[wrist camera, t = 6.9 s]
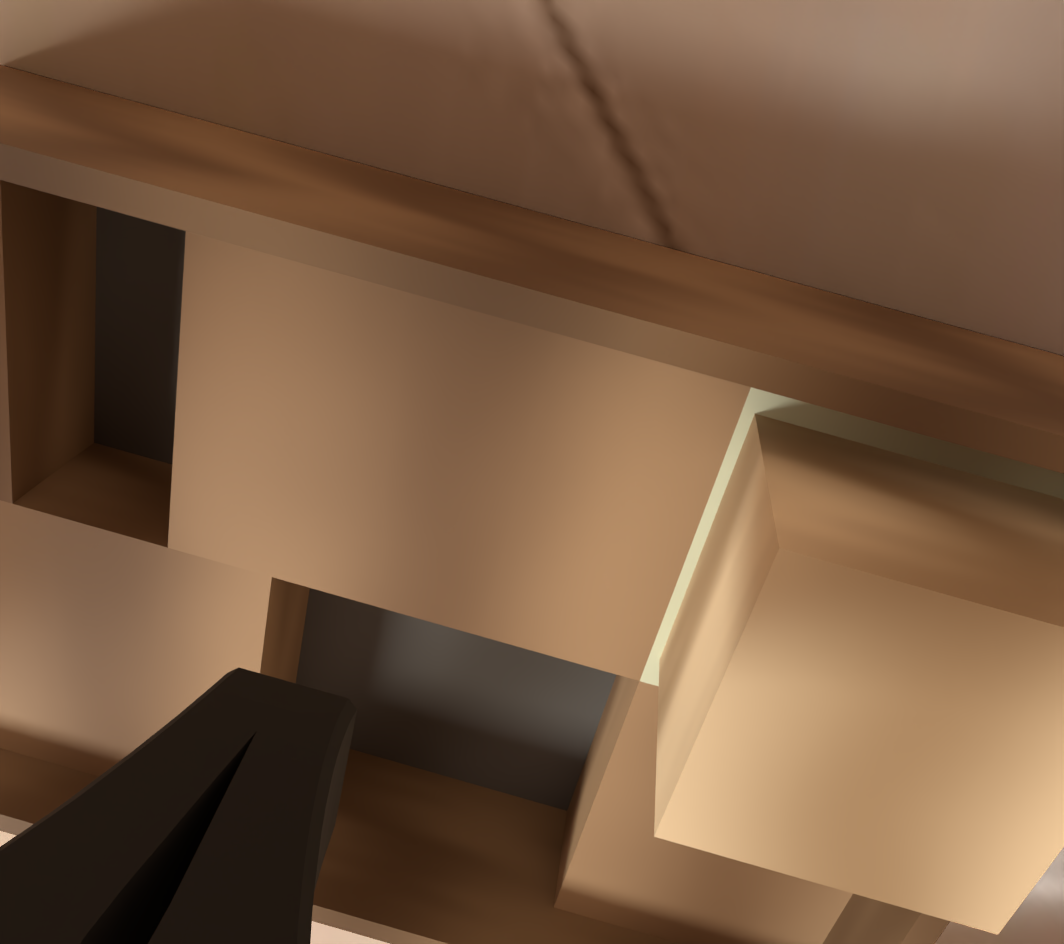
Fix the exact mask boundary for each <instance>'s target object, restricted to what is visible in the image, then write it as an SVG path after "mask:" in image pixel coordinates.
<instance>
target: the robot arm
mask: <svg viewBox="0 0 1064 944" xmlns="http://www.w3.org/2000/svg"><path fill="white" fill-rule="evenodd" d="M356 713H357V709H356V708H355V706H354V705H353V703H352V702H351V701H350V699H349V698H346V697H342V696H338V695H335V694H331V693H328V692H324V691H321V690H317V689H314V688H310V687H307V686H303V685H300V684H296V683H292V682H289V681H285V680H282V679H278V678H275V677H271V676H268V675H264V674H261V673H257V672H253V671H250V670H246V669H243V668H239V667H238V668H236V669H234V670H232V671H230V672H228V673H227V674H225V675H224V676H223V677H222V678H221V679H220V680H219V681H217V682H216V683H215V684H214V685H213V686H212V687H210V688H209V689H208V690H207V691H206V692H205V693H203V694H202V695H201V696H200V697H199V698H197V699H196V700H195V701H194V702H193V703H192V704H190V705H189V706H188V707H187V708H186V709H184V710H183V711H182V712H181V713H180V714H178V715H177V716H176V717H175V718H173V719H172V720H171V721H170V722H169V723H167V724H166V725H165V726H164V727H162V728H161V729H160V730H159V731H157V732H156V733H155V734H154V735H152V736H151V737H150V738H149V739H147V740H146V741H145V742H144V743H142V744H141V745H140V746H139V747H137V748H136V749H135V750H134V751H132V752H131V753H130V754H128V755H127V756H126V757H124V758H123V759H122V760H120V761H119V762H118V763H116V764H115V765H114V766H112V767H111V768H110V769H108V770H107V771H106V772H104V773H103V774H102V775H100V776H99V777H98V778H96V779H95V780H94V781H92V782H91V783H90V784H88V785H87V786H86V787H84V788H83V789H82V790H80V791H79V792H78V793H76V794H75V795H74V796H72V797H71V798H70V799H68V800H67V801H66V802H64V803H63V804H62V805H60V806H59V807H57V808H56V809H55V810H53V811H52V812H50V813H49V814H48V815H46V816H45V817H43V818H42V819H40V820H39V821H37V822H36V823H34V824H33V825H32V826H30V827H29V828H27V829H26V830H24V831H23V832H21V833H20V834H18V835H17V836H15V837H14V838H13V839H11V840H10V841H8V842H7V843H5V844H4V845H2V846H1V847H0V944H310V937H311V922H312V911H313V899H314V891H315V887H316V884H317V880H318V877H319V873H320V870H321V866H322V863H323V860H324V857H325V854H326V851H327V848H328V845H329V842H330V839H331V836H332V833H333V830H334V827H335V823H336V818H337V812H338V807H339V802H340V797H341V791H342V786H343V781H344V776H345V770H346V765H347V760H348V755H349V749H350V744H351V739H352V734H353V728H354V723H355V718H356Z"/></svg>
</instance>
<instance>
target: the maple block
mask: <svg viewBox="0 0 1064 944" xmlns="http://www.w3.org/2000/svg"><path fill="white" fill-rule="evenodd" d="M654 837H657V838H661V839H664V840H668V841H671V842H675V843H678V844H682V845H685V846H689V847H692V848H696V849H699V850H703V851H706V852H710V853H713V854H717V855H720V856H724V857H727V858H731V859H734V860H738V861H741V862H745V863H748V864H752V865H755V866H759V867H762V868H766V869H769V870H773V871H776V872H780V873H783V874H787V875H790V876H794V877H797V878H801V879H804V880H808V881H811V882H815V883H818V884H822V885H825V886H829V887H832V888H836V889H839V890H843V891H846V892H850V893H853V894H857V895H860V896H864V897H867V898H871V899H874V900H878V901H881V902H885V903H888V904H892V905H895V906H899V907H902V908H906V909H909V910H913V911H916V912H920V913H923V914H927V915H930V916H934V917H937V918H941V919H944V920H948V921H951V922H955V923H958V924H962V925H965V926H969V927H972V928H976V929H979V930H983V931H986V932H990V933H993V934H997V935H998V934H999V933H1000V931H1001V930H1002V929H1003V927H1004V926H1005V925H1006V923H1007V922H1008V921H1009V919H1010V918H1011V917H1012V915H1013V914H1014V913H1015V911H1016V910H1017V909H1018V907H1019V906H1020V905H1021V903H1022V902H1023V901H1024V899H1025V898H1026V897H1027V895H1028V894H1029V893H1030V891H1031V890H1032V889H1033V887H1034V886H1035V885H1036V883H1037V882H1038V881H1039V879H1040V878H1041V877H1042V875H1043V874H1044V873H1045V871H1046V870H1047V869H1048V867H1049V866H1050V865H1051V863H1052V862H1053V861H1054V859H1055V858H1056V857H1057V855H1058V854H1059V853H1060V851H1061V850H1062V848H1063V847H1064V499H1061V498H1058V497H1054V496H1050V495H1047V494H1043V493H1040V492H1036V491H1032V490H1029V489H1025V488H1022V487H1018V486H1014V485H1011V484H1007V483H1003V482H1000V481H996V480H993V479H989V478H985V477H982V476H978V475H975V474H971V473H967V472H964V471H960V470H956V469H953V468H949V467H946V466H942V465H938V464H935V463H931V462H928V461H924V460H920V459H917V458H913V457H909V456H906V455H902V454H899V453H895V452H891V451H888V450H884V449H881V448H877V447H873V446H870V445H866V444H863V443H859V442H855V441H852V440H848V439H844V438H841V437H837V436H834V435H830V434H826V433H823V432H819V431H816V430H812V429H808V428H805V427H801V426H797V425H794V424H790V423H787V422H783V421H779V420H776V419H772V418H769V417H765V416H761V415H758V414H754V417H753V419H752V422H751V425H750V427H749V430H748V432H747V435H746V438H745V440H744V443H743V445H742V448H741V450H740V453H739V456H738V458H737V461H736V463H735V466H734V469H733V471H732V474H731V476H730V479H729V481H728V484H727V487H726V489H725V492H724V494H723V497H722V500H721V502H720V505H719V507H718V510H717V513H716V515H715V518H714V520H713V523H712V525H711V528H710V531H709V533H708V536H707V538H706V541H705V544H704V546H703V549H702V551H701V554H700V556H699V559H698V562H697V564H696V567H695V569H694V572H693V575H692V577H691V580H690V582H689V585H688V587H687V590H686V593H685V595H684V598H683V600H682V603H681V606H680V608H679V611H678V613H677V616H676V618H675V621H674V624H673V626H672V629H671V631H670V634H669V637H668V639H667V642H666V644H665V647H664V650H663V652H662V655H661V657H660V660H659V692H658V725H657V758H656V790H655V823H654Z"/></svg>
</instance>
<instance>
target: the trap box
mask: <svg viewBox="0 0 1064 944" xmlns="http://www.w3.org/2000/svg"><path fill="white" fill-rule="evenodd" d="M754 414H758V415H761V416H765V417H769V418H772V419H776V420H779V421H783V422H787V423H790V424H794V425H797V426H801V427H805V428H808V429H812V430H816V431H819V432H823V433H826V434H830V435H834V436H837V437H841V438H844V439H848V440H852V441H855V442H859V443H863V444H866V445H870V446H873V447H877V448H881V449H884V450H888V451H891V452H895V453H899V454H902V455H906V456H909V457H913V458H917V459H920V460H924V461H928V462H931V463H935V464H938V465H942V466H946V467H949V468H953V469H956V470H960V471H964V472H967V473H971V474H975V475H978V476H982V477H985V478H989V479H993V480H996V481H1000V482H1003V483H1007V484H1011V485H1014V486H1018V487H1022V488H1025V489H1029V490H1032V491H1036V492H1040V493H1043V494H1047V495H1050V496H1054V497H1058V498H1061V499H1064V356H1061V355H1057V354H1054V353H1050V352H1046V351H1043V350H1039V349H1035V348H1032V347H1028V346H1025V345H1021V344H1017V343H1014V342H1010V341H1006V340H1003V339H999V338H995V337H992V336H988V335H984V334H981V333H977V332H973V331H970V330H966V329H962V328H959V327H955V326H952V325H948V324H944V323H941V322H937V321H933V320H930V319H926V318H922V317H919V316H915V315H911V314H908V313H904V312H900V311H897V310H893V309H890V308H886V307H882V306H879V305H875V304H871V303H868V302H864V301H860V300H857V299H853V298H849V297H846V296H842V295H838V294H835V293H831V292H828V291H824V290H820V289H817V288H813V287H809V286H806V285H802V284H798V283H795V282H791V281H787V280H784V279H780V278H776V277H773V276H769V275H766V274H762V273H758V272H755V271H751V270H747V269H744V268H740V267H736V266H733V265H729V264H725V263H722V262H718V261H714V260H711V259H707V258H704V257H700V256H696V255H693V254H689V253H685V252H682V251H678V250H674V249H671V248H667V247H663V246H660V245H656V244H652V243H649V242H645V241H641V240H638V239H634V238H631V237H627V236H623V235H620V234H616V233H612V232H609V231H605V230H601V229H598V228H594V227H590V226H587V225H583V224H579V223H576V222H572V221H569V220H565V219H561V218H558V217H554V216H550V215H547V214H543V213H539V212H536V211H532V210H528V209H525V208H521V207H517V206H514V205H510V204H507V203H503V202H499V201H496V200H492V199H488V198H485V197H481V196H477V195H474V194H470V193H466V192H463V191H459V190H455V189H452V188H448V187H445V186H441V185H437V184H434V183H430V182H426V181H423V180H419V179H415V178H412V177H408V176H404V175H401V174H397V173H393V172H390V171H386V170H382V169H379V168H375V167H372V166H368V165H364V164H361V163H357V162H353V161H350V160H346V159H342V158H339V157H335V156H331V155H328V154H324V153H320V152H317V151H313V150H310V149H306V148H302V147H299V146H295V145H291V144H288V143H284V142H280V141H277V140H273V139H269V138H266V137H262V136H258V135H255V134H251V133H248V132H244V131H240V130H237V129H233V128H229V127H226V126H222V125H218V124H215V123H211V122H207V121H204V120H200V119H196V118H193V117H189V116H186V115H182V114H178V113H175V112H171V111H167V110H164V109H160V108H156V107H153V106H149V105H145V104H142V103H138V102H134V101H131V100H127V99H123V98H120V97H116V96H113V95H109V94H105V93H102V92H98V91H94V90H91V89H87V88H83V87H80V86H76V85H72V84H69V83H65V82H61V81H58V80H54V79H51V78H47V77H43V76H40V75H36V74H32V73H29V72H25V71H21V70H18V69H14V68H10V67H7V66H3V65H0V831H3V832H7V833H10V834H14V835H18V834H20V833H21V832H23V831H24V830H26V829H27V828H29V827H30V826H32V825H33V824H34V823H36V822H37V821H39V820H40V819H42V818H43V817H45V816H46V815H48V814H49V813H50V812H52V811H53V810H55V809H56V808H57V807H59V806H60V805H62V804H63V803H64V802H66V801H67V800H68V799H70V798H71V797H72V796H74V795H75V794H76V793H78V792H79V791H80V790H82V789H83V788H84V787H86V786H87V785H88V784H90V783H91V782H92V781H94V780H95V779H96V778H98V777H99V776H100V775H102V774H103V773H104V772H106V771H107V770H108V769H110V768H111V767H112V766H114V765H115V764H116V763H118V762H119V761H120V760H122V759H123V758H124V757H126V756H127V755H128V754H130V753H131V752H132V751H134V750H135V749H136V748H137V747H139V746H140V745H141V744H142V743H144V742H145V741H146V740H147V739H149V738H150V737H151V736H152V735H154V734H155V733H156V732H157V731H159V730H160V729H161V728H162V727H164V726H165V725H166V724H167V723H169V722H170V721H171V720H172V719H173V718H175V717H176V716H177V715H178V714H180V713H181V712H182V711H183V710H184V709H186V708H187V707H188V706H189V705H190V704H192V703H193V702H194V701H195V700H196V699H197V698H199V697H200V696H201V695H202V694H203V693H205V692H206V691H207V690H208V689H209V688H210V687H212V686H213V685H214V684H215V683H216V682H217V681H219V680H220V679H221V678H222V677H223V676H224V675H225V674H227V673H228V672H230V671H232V670H234V669H236V668H238V667H239V668H243V669H246V670H250V671H253V672H257V673H261V674H264V675H268V676H271V677H275V678H278V679H282V680H285V681H289V682H292V683H296V684H300V685H303V686H307V687H310V688H314V689H317V690H321V691H324V692H328V693H331V694H335V695H338V696H342V697H346V698H349V699H350V701H351V702H352V703H353V705H354V706H355V708H356V709H357V713H356V718H355V723H354V728H353V734H352V739H351V744H350V749H349V755H348V760H347V765H346V770H345V776H344V781H343V786H342V791H341V797H340V802H339V807H338V812H337V818H336V823H335V827H334V830H333V833H332V836H331V839H330V842H329V845H328V848H327V851H326V854H325V857H324V860H323V863H322V866H321V870H320V873H319V877H318V880H317V884H316V887H315V891H314V899H313V911H312V921H314V922H318V923H321V924H325V925H328V926H332V927H335V928H339V929H342V930H346V931H349V932H352V933H356V934H359V935H363V936H366V937H370V938H373V939H377V940H380V941H384V942H387V943H390V944H934V943H935V942H936V941H937V939H938V938H939V936H940V935H941V933H942V932H943V931H944V929H945V928H946V926H947V925H948V923H949V922H950V921H948V920H944V919H941V918H937V917H934V916H930V915H927V914H923V913H920V912H916V911H913V910H909V909H906V908H902V907H899V906H895V905H892V904H888V903H885V902H881V901H878V900H874V899H871V898H867V897H864V896H860V895H857V894H853V893H850V892H846V891H843V890H839V889H836V888H832V887H829V886H825V885H822V884H818V883H815V882H811V881H808V880H804V879H801V878H797V877H794V876H790V875H787V874H783V873H780V872H776V871H773V870H769V869H766V868H762V867H759V866H755V865H752V864H748V863H745V862H741V861H738V860H734V859H731V858H727V857H724V856H720V855H717V854H713V853H710V852H706V851H703V850H699V849H696V848H692V847H689V846H685V845H682V844H678V843H675V842H671V841H668V840H664V839H661V838H657V837H654V823H655V790H656V758H657V725H658V692H659V660H660V657H661V655H662V652H663V650H664V647H665V644H666V642H667V639H668V637H669V634H670V631H671V629H672V626H673V624H674V621H675V618H676V616H677V613H678V611H679V608H680V606H681V603H682V600H683V598H684V595H685V593H686V590H687V587H688V585H689V582H690V580H691V577H692V575H693V572H694V569H695V567H696V564H697V562H698V559H699V556H700V554H701V551H702V549H703V546H704V544H705V541H706V538H707V536H708V533H709V531H710V528H711V525H712V523H713V520H714V518H715V515H716V513H717V510H718V507H719V505H720V502H721V500H722V497H723V494H724V492H725V489H726V487H727V484H728V481H729V479H730V476H731V474H732V471H733V469H734V466H735V463H736V461H737V458H738V456H739V453H740V450H741V448H742V445H743V443H744V440H745V438H746V435H747V432H748V430H749V427H750V425H751V422H752V419H753V417H754Z"/></svg>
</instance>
